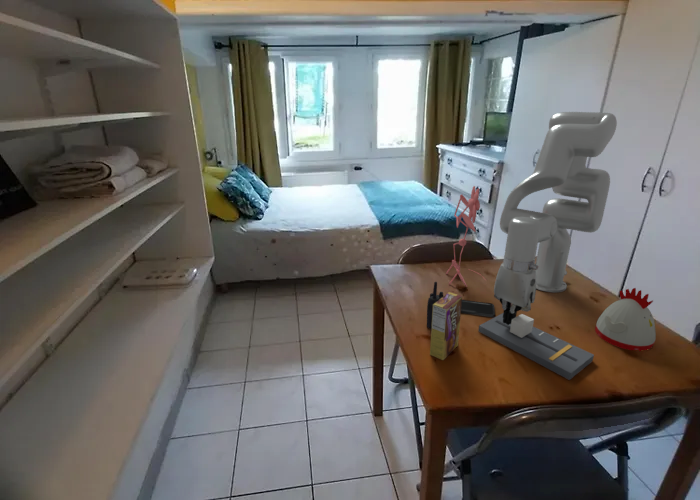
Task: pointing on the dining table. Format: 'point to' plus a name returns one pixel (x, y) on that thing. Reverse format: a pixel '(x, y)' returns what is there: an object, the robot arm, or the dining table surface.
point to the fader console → (540, 347)
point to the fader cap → (521, 325)
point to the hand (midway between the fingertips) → (508, 322)
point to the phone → (477, 308)
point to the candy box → (445, 325)
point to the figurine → (473, 206)
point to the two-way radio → (431, 301)
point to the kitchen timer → (628, 322)
